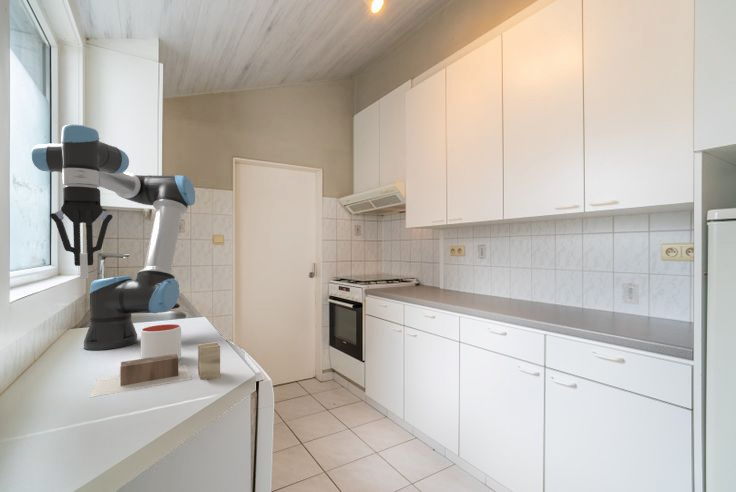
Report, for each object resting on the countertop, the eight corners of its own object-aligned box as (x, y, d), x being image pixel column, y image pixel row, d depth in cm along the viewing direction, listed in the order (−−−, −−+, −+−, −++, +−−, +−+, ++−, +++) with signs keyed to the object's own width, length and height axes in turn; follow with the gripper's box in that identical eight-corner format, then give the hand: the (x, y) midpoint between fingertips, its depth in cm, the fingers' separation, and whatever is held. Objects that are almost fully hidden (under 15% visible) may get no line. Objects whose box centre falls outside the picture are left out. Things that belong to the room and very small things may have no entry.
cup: (188, 357, 108) (188, 324, 108) (166, 368, 98) (166, 331, 98) (156, 357, 109) (156, 324, 109) (132, 368, 99) (132, 331, 99)
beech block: (198, 375, 92) (197, 344, 92) (216, 372, 95) (216, 341, 95) (200, 381, 88) (200, 348, 89) (220, 377, 91) (220, 345, 91)
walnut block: (121, 361, 89) (176, 353, 95) (121, 380, 89) (176, 370, 95) (120, 366, 85) (178, 357, 91) (120, 386, 85) (178, 375, 91)
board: (95, 381, 89) (95, 379, 89) (186, 366, 100) (186, 364, 100) (89, 399, 78) (89, 397, 78) (191, 380, 89) (191, 378, 89)
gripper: (46, 183, 87) (49, 281, 87) (112, 187, 94) (115, 277, 95) (50, 187, 93) (53, 278, 93) (113, 190, 100) (115, 275, 101)
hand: (84, 278), depth 94 cm, fingers closed
